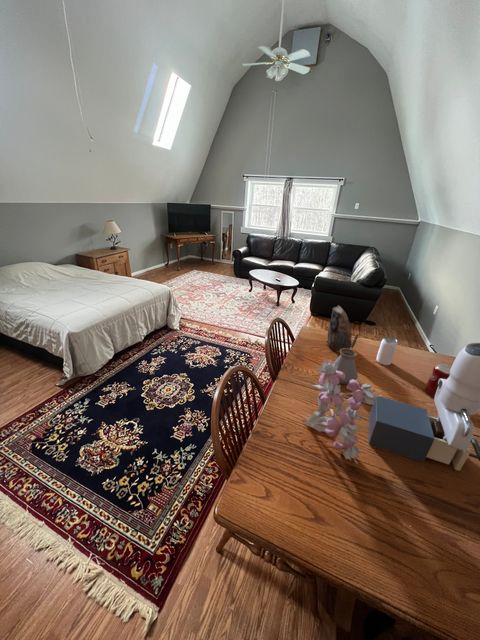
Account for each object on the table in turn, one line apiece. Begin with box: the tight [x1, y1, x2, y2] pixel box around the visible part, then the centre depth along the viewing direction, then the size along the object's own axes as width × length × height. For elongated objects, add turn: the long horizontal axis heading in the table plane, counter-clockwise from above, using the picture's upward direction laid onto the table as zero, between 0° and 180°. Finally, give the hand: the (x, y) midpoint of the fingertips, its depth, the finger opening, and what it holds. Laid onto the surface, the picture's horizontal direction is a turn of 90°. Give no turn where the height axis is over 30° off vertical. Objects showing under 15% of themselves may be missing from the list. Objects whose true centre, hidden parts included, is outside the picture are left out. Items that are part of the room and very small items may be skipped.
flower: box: [301, 357, 382, 464], centre depth 80 cm, size 20×22×25 cm
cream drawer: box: [426, 414, 480, 472], centre depth 79 cm, size 18×11×8 cm, turn 66°
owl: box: [326, 304, 353, 353], centre depth 134 cm, size 13×13×20 cm
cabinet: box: [368, 395, 435, 463], centre depth 83 cm, size 15×13×10 cm
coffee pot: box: [332, 333, 360, 385], centre depth 113 cm, size 21×12×15 cm, turn 146°
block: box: [431, 420, 445, 439], centre depth 78 cm, size 5×5×5 cm
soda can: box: [424, 363, 452, 398], centre depth 104 cm, size 7×7×12 cm
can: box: [375, 336, 398, 366], centre depth 123 cm, size 6×6×12 cm
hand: (441, 435), depth 79 cm, fingers closed on block, 5 cm apart
